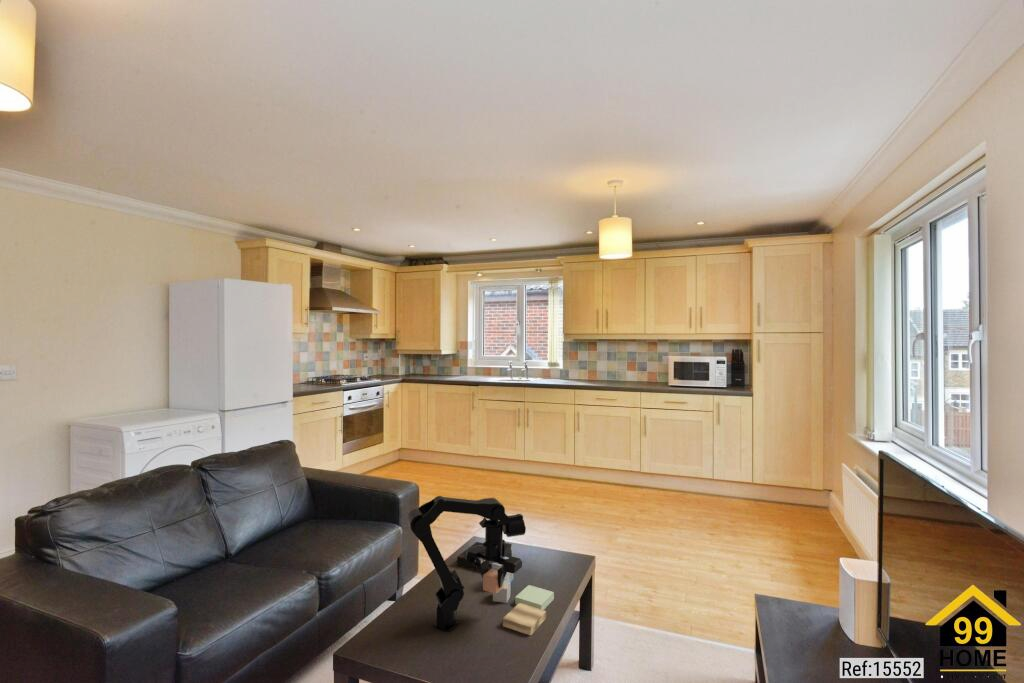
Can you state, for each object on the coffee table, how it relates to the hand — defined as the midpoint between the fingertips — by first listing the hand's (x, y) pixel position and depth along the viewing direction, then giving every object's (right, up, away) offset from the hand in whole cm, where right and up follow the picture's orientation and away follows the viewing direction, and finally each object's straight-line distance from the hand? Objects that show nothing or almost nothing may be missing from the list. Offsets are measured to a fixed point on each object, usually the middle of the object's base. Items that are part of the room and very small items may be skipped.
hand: (493, 585), depth 166 cm
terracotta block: (0, -1, 0) cm, 1 cm away
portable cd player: (-5, -10, +41) cm, 42 cm away
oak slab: (+10, -10, -4) cm, 15 cm away
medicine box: (+3, -10, +21) cm, 24 cm away
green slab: (+14, -10, +9) cm, 20 cm away
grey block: (+3, -10, +11) cm, 15 cm away
